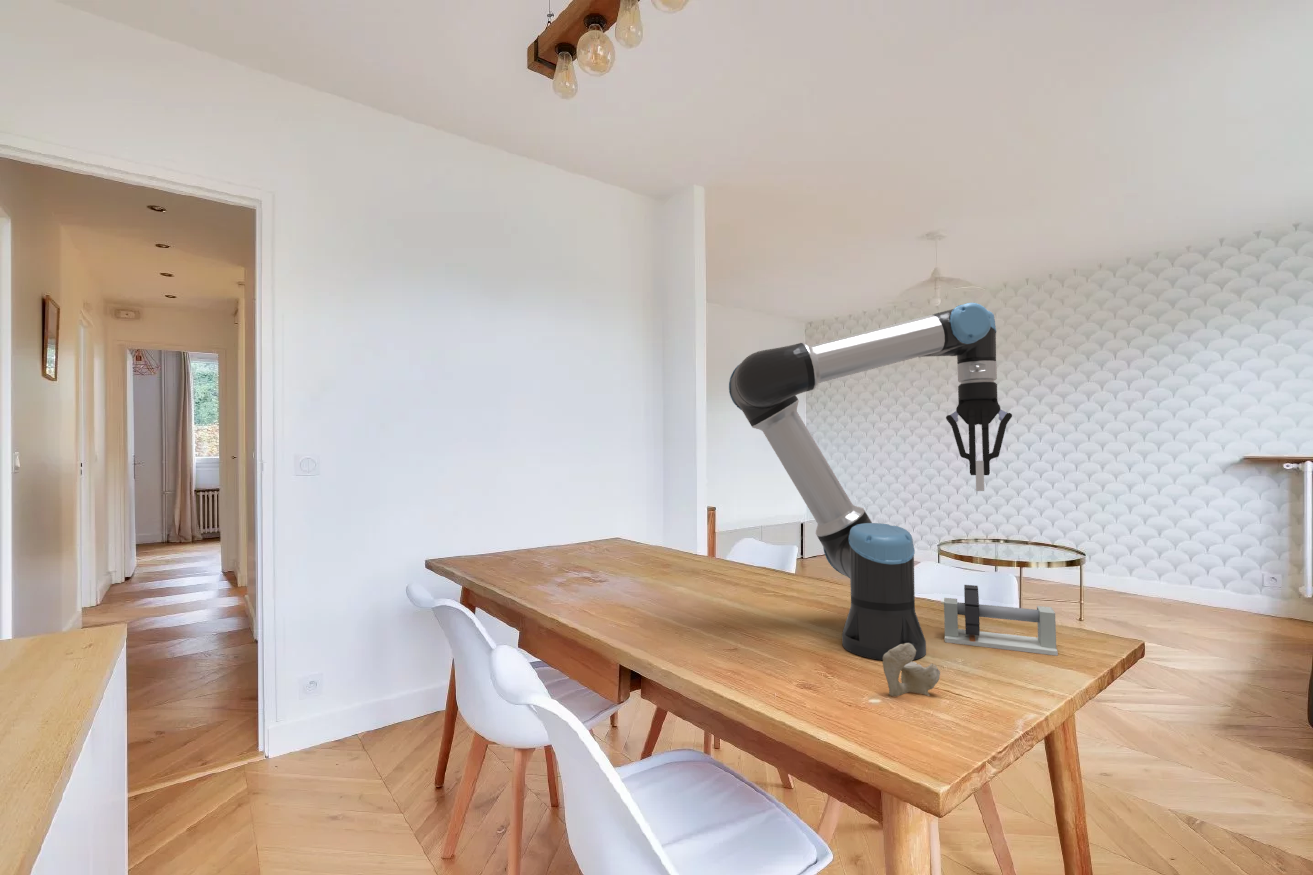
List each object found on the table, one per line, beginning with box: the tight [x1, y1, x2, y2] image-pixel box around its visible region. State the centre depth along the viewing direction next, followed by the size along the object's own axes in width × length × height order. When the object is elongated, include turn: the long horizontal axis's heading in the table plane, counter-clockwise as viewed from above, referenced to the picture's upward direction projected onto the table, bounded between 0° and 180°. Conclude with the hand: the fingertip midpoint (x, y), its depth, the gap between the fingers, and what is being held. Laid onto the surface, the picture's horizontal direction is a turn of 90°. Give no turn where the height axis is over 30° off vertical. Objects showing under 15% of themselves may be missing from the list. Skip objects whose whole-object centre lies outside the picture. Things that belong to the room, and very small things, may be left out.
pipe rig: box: [943, 597, 1059, 656], centre depth 117 cm, size 19×8×7 cm, turn 63°
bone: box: [882, 643, 941, 697], centre depth 93 cm, size 9×6×10 cm
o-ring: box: [963, 584, 981, 636], centre depth 119 cm, size 2×9×9 cm, turn 153°
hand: (980, 490), depth 129 cm, fingers closed
